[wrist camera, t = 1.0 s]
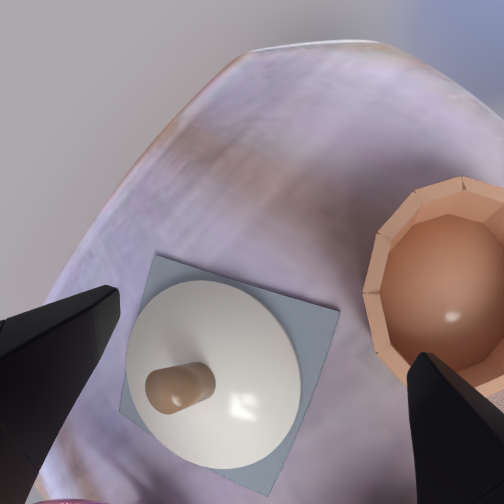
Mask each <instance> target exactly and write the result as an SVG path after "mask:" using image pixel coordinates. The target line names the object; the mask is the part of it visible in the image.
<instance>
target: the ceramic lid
mask: <svg viewBox="0 0 504 504" xmlns="http://www.w3.org/2000/svg"><path fill="white" fill-rule="evenodd" d="M126 371H127V379H128V385H129V389H130V393H131V396H132V399H133V402H134V405H135V407H136V409H137V411H138V413H139V415H140V417H141V418H142V420H143V422H144V423H145V425H146V426H147V428H148V429H149V430H150V431H151V433H152V434H153V435H154V436H155V437H156V438H157V439H158V440H159V441H160V442H161V443H162V444H163V445H164V446H165V447H166V448H168V449H169V450H170V451H172V452H173V453H175V454H176V455H178V456H179V457H181V458H183V459H185V460H187V461H189V462H192V463H194V464H197V465H200V466H204V467H208V468H215V469H233V468H239V467H244V466H247V465H250V464H253V463H255V462H257V461H259V460H261V459H263V458H264V457H266V456H267V455H268V454H270V453H271V452H272V451H273V450H274V449H275V448H276V447H277V446H278V445H279V444H280V443H281V442H282V441H283V439H284V438H285V437H286V435H287V434H288V432H289V431H290V430H291V428H292V426H293V424H294V422H295V420H296V418H297V415H298V411H299V408H300V404H301V398H302V373H301V366H300V362H299V358H298V355H297V351H296V349H295V347H294V344H293V342H292V340H291V338H290V336H289V334H288V332H287V331H286V329H285V327H284V326H283V324H282V323H281V322H280V321H279V319H278V318H277V317H276V315H275V314H274V313H273V312H272V311H271V310H270V309H269V308H268V307H267V306H266V305H265V304H263V303H262V302H261V301H259V300H258V299H257V298H255V297H254V296H252V295H251V294H249V293H247V292H245V291H244V290H241V289H239V288H236V287H234V286H231V285H227V284H223V283H219V282H214V281H203V280H200V281H188V282H184V283H179V284H177V285H174V286H171V287H169V288H167V289H166V290H164V291H162V292H161V293H159V294H158V295H157V296H155V297H154V298H153V299H152V300H151V301H150V302H149V303H148V304H147V305H146V306H145V308H144V309H143V310H142V312H141V313H140V315H139V316H138V318H137V320H136V322H135V324H134V326H133V329H132V331H131V334H130V338H129V342H128V347H127V355H126Z"/></svg>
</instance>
